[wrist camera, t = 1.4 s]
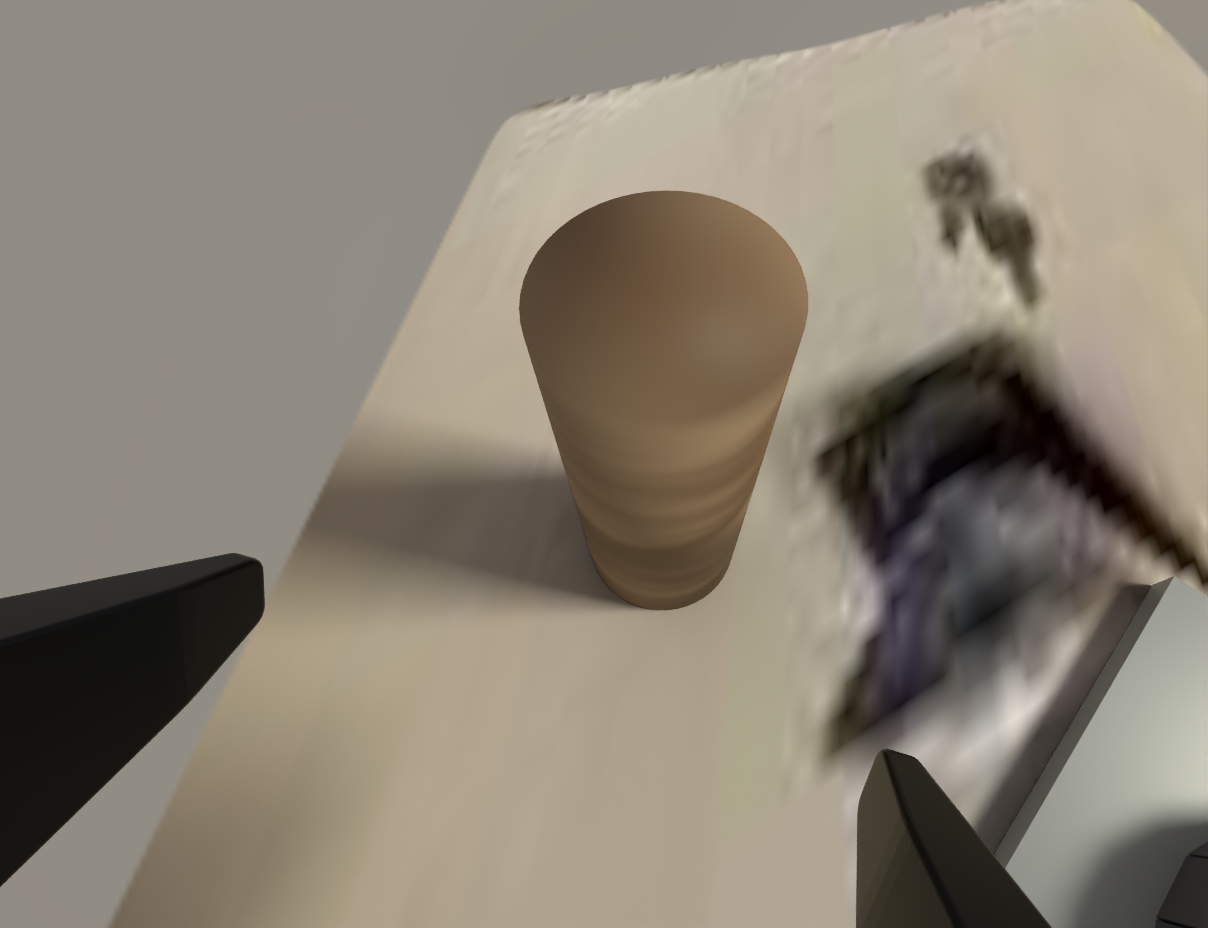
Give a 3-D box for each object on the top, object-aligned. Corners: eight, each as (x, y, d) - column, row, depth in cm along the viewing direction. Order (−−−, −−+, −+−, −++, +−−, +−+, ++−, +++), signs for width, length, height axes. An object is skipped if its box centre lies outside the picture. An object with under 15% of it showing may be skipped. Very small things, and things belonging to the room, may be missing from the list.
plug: (670, 641, 22) (682, 479, 10) (560, 546, 23) (461, 313, 12) (762, 531, 23) (866, 275, 11) (652, 449, 25) (644, 153, 13)
